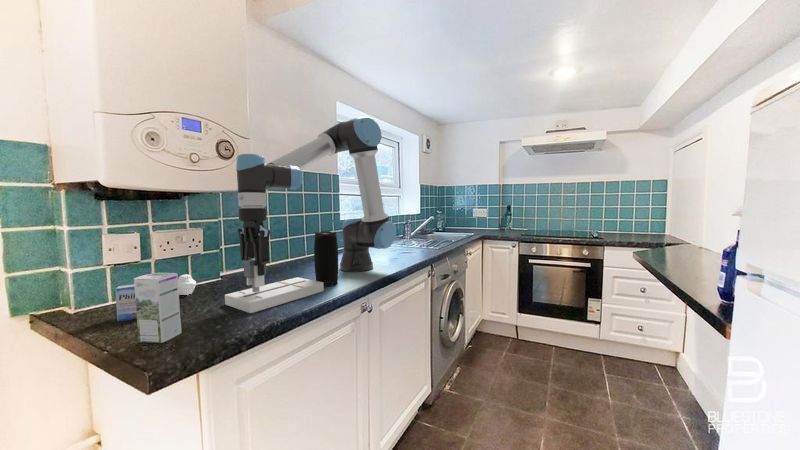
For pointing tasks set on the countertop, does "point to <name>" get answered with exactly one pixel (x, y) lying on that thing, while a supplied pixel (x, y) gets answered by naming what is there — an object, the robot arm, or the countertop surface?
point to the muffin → (186, 284)
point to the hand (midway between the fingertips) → (255, 285)
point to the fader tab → (251, 272)
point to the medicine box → (125, 302)
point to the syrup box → (157, 307)
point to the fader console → (273, 294)
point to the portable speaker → (326, 257)
